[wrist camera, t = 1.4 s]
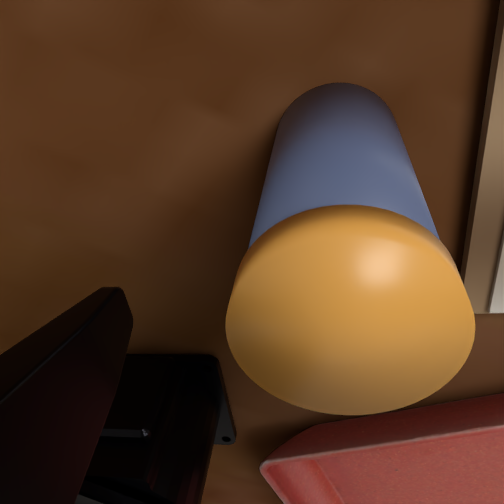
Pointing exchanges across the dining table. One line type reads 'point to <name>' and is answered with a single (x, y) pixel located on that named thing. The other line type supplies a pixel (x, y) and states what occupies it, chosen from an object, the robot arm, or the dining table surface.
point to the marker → (346, 267)
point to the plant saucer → (397, 457)
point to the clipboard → (488, 196)
